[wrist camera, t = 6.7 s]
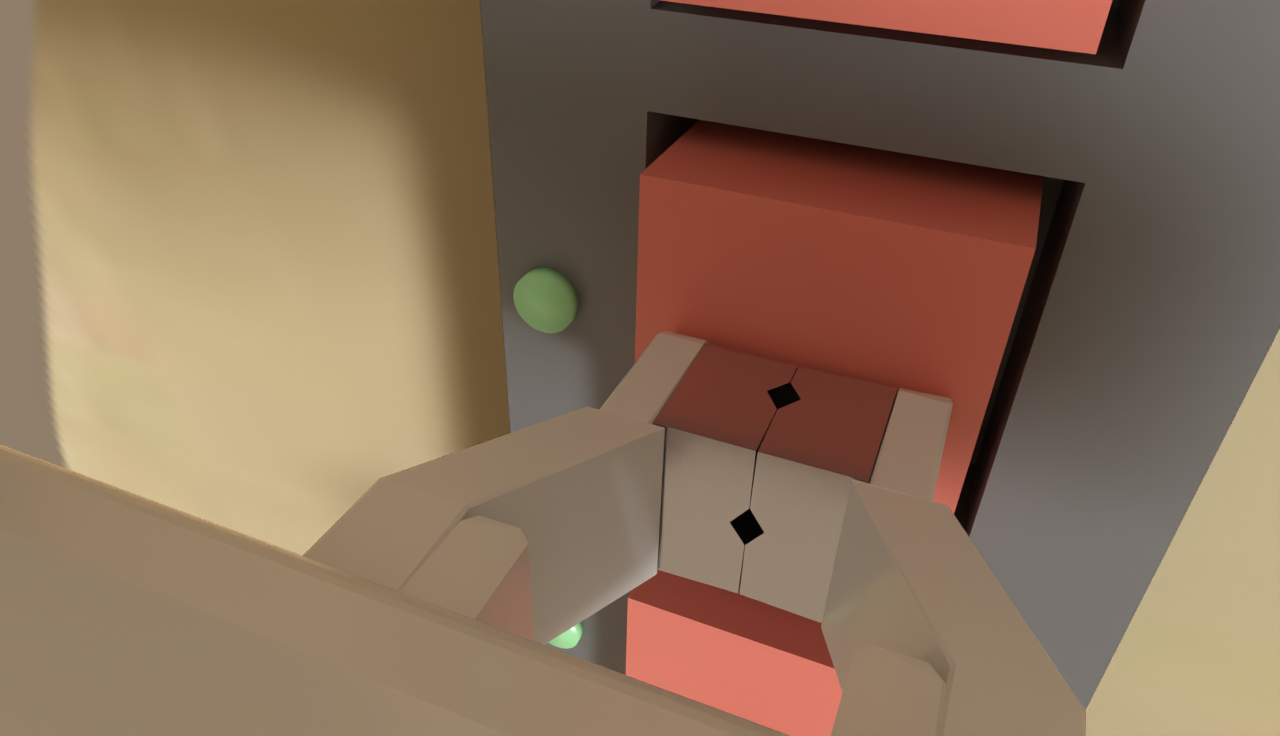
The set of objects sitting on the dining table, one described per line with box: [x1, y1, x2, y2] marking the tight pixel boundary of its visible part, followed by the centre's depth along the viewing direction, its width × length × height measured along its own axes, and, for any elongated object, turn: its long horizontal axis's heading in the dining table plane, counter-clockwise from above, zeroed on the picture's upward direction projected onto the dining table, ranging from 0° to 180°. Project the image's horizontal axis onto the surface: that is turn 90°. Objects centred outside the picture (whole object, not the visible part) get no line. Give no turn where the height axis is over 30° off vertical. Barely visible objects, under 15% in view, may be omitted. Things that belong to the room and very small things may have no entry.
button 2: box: [635, 120, 1044, 514], centre depth 10 cm, size 4×4×3 cm
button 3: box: [626, 570, 843, 736], centre depth 14 cm, size 4×4×3 cm
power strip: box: [480, 0, 1280, 710], centre depth 10 cm, size 24×8×3 cm, turn 178°
